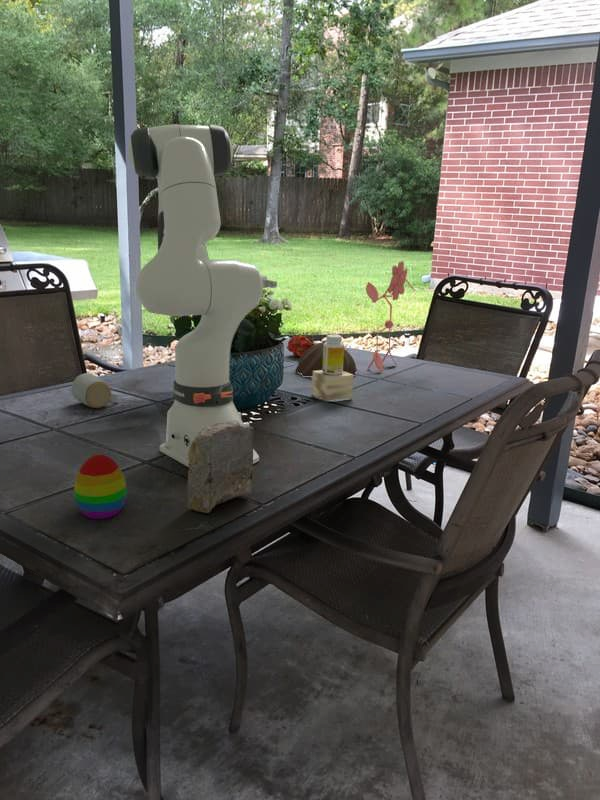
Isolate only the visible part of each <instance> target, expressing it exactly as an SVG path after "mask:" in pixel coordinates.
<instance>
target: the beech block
mask: <svg viewBox="0 0 600 800" xmlns="http://www.w3.org/2000/svg"><path fill="white" fill-rule="evenodd" d="M311 380H312V381H311V382H312V383H311V385H312V386H311V395H312V394H313V395H315V396H317V397H319V398H322V399H324V400H327V401H329V400H335V399H343V398H352V399H353V392H354V391H353V389H354V378H353V374H350V373H348V372H345V371H343V372H342V374H339V375H328V374H325V373H323V371H322V370H318V371H313V378H311Z"/></svg>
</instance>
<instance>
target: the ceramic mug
mask: <svg viewBox="0 0 600 800" xmlns="http://www.w3.org/2000/svg"><path fill="white" fill-rule="evenodd" d="M71 394H72V396H73V398H74V399H75V400H77V402H79V403H81V404H83V405H85V406H87V407H89V408H92V409H100V408H103V407H105V406H106V405H108V404H109V402H112V403H114V404H115V403H116V404H117V403H118V402H119V401H120V400H119V399H120V396H118V395H117V394H114V393H112V390H111V387H110V386H109V384H108V383H107V382H106V381H104V380H102V379H101V378H99V377H98V376H97V375H95V374H92V373H88V372H86V373H85V372H84V373H81V374H79V375H77V376H76V378H74V380H73V382H72V384H71Z"/></svg>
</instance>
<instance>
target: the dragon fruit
mask: <svg viewBox="0 0 600 800" xmlns="http://www.w3.org/2000/svg"><path fill="white" fill-rule="evenodd" d="M316 344H317V343H314V340H313V339H312V338H309V337H307V335H305V334H302V335H300V334H296V335H293V336H292V337H291V338H290V339H289V340H288V342H287V346H286V349H287V351H289V353H290V352H291V353H292V354H293V356H294V357H300V356H301V355H302V354H303V353H304V352H305V351H306V350H308V349H309V348H311V347H312V346H314V345H316ZM296 355H297V356H296Z"/></svg>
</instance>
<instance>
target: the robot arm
mask: <svg viewBox="0 0 600 800" xmlns="http://www.w3.org/2000/svg"><path fill="white" fill-rule="evenodd" d="M127 153H128V160H129V162H130V164H131V165H130V166H132V168H133V170H134V171H135V172H134V173H135V174H137V176H139V177H140V178H142V179H147V180H153V181H154V180H155V179H157V192H158V216H157V217H158V219H157V220H158V221H157V223H158V224H157V252H156V253H155V255H154V256H153V257H152V258H151V260H149V261H148V262H147V263H146V264H144V266H143V267H142V268H141V269H140V270H139V273H138V275H137V278H136V282H135V283H136V284H135V291H136V295H137V298H138V301H139V302H140V304H141V305H142V307H143V309H145V310H146V311H147V312H148V313H150V314H156V315H163V316H169V317H180V316H201V317H200V321H199V323H198V324H197V325H196V327H195V328H194V329H193V330H192V331H190V332H188V333H186V334H185V335H183V336H182V337H181V338H180V339H179V340H178V342H177V343H176V346H175V348H174V364H175V365H174V367H175V369H174V371H175V372H174V374H175V379H174V380H173V387H172V393H173V399H174V401H173V404H172V405H171V407H170V408H169V409H168V410H167V414H166V433H165V434H166V437H165V439H166V440H165V442H163V443H162V444H161V445H159V452H161V453H163V454H164V455H165V456H167V457H170V458H171V459H173V460H174V461H177V462H178V463H180V464H182V465H184V466H185V467H188V462H189V461H190V460H189V456H188V451H189V448H190V445H191V443H192V440H193V438H194V437H195V436H196V434H197V433H198V432H199V431H201V430H202V429H203V428H206V427H208V426H210V425H213V424H215V423H223V422H230V421H232V420H237V421H238V422H239V423H240V424H242V425H244V426H245V427H251V425H250V423H249V421H246V422H243V419H242V413H241V412H239V411H238V410H237V408H236V406H235V403H234V401H233V400H234V395H233V394H234V393H233V392H234V390H233V386H232V381H231V380H230V361H231V360H230V359H231V349H232V348H231V347H232V343H233V340H234V337H235V333H236V331H237V330H238V327H239V326H240V324H241V323H242V321H243V320H244V319H245V318H246V316H247V315H248V314H249V313H251V312H252V311H253V310H254V309H255V308H257V306H258V305H259V304H260V301H261V300H262V297H263V293H264V289H263V288H266V289H267V288H269V287H270V288H271V289H274V288H277V287H278V281H276V280H270V279H268V276H267V275H264V274H261V273H260V271H259V269H258V268H257V266H256V265H254V264H253V263H250V262H246V261H242V260H236V259H233V258H232V259H231V258H229V259H226V258H225V259H218V258H217V259H214V258H213V259H212V258H211V259H210V258H209V253H208V249H207V247H206V245H205V244H207V243H209V242H210V241H212V240H213V239H215V237H216V236H217V235H218V233H219V231H220V229H221V225H222V223H221V214H220V208H219V207H220V205H219V199H218V191H217V185H216V180H215V177H218V176H222V175H225V174H226V173H228V172H229V170H230V169H231V166H232V162H233V156H234V149H233V143H232V141H231V139H230V136H229V133H228V131H227V130H226V129H225V128H224V127H223V126H221V125H216V124H208V125H203V124H202V125H200V124H198V125H197V124H179V123H178V124H177V123H175V124H166V125H165V124H164V125H158V126H153V127H148V126H143V127H140V128H137V129H135V130H134V131H132V132H131V135H130V139H129V141H128V146H127ZM259 461H260V456H259V454H258V453H257V451H256V450H255V449H254V448H253V465H254V464H256V463H257V462H259ZM188 468H189V467H188Z"/></svg>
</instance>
